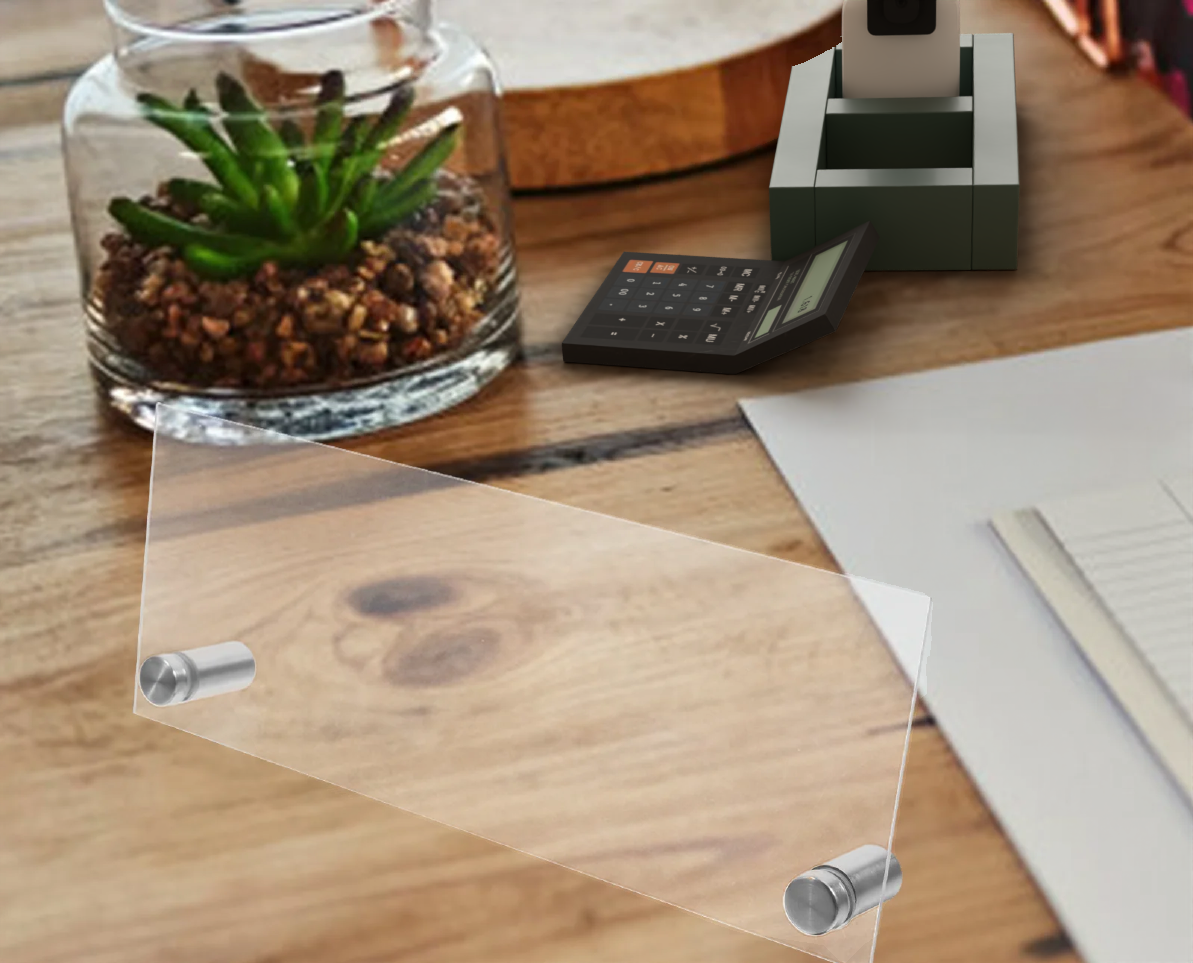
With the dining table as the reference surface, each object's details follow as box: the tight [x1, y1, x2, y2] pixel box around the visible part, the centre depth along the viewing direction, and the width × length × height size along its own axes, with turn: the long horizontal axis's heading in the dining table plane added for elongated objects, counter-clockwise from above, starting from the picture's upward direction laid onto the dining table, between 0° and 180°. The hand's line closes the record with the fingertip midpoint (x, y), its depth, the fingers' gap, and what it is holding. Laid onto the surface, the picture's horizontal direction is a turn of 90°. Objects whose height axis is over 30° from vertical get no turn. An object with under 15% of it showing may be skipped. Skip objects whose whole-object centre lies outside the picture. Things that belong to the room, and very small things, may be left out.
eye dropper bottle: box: [841, 0, 961, 99], centre depth 112 cm, size 4×6×12 cm
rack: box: [768, 32, 1021, 272], centre depth 110 cm, size 11×20×4 cm, turn 172°
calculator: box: [561, 221, 880, 375], centre depth 99 cm, size 9×12×3 cm
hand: (902, 14), depth 111 cm, fingers closed on eye dropper bottle, 3 cm apart
